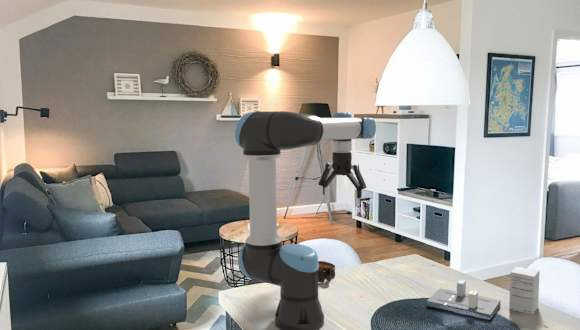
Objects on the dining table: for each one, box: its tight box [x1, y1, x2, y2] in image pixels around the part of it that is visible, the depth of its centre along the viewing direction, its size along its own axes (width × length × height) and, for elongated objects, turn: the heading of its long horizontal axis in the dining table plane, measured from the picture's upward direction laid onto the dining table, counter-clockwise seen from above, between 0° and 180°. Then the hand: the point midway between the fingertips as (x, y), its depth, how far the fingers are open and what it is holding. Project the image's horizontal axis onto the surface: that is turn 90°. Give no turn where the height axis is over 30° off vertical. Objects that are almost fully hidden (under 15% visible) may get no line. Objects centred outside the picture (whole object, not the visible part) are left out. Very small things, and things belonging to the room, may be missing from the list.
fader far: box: [456, 279, 467, 297], centre depth 164 cm, size 4×2×5 cm, turn 145°
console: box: [426, 287, 502, 318], centre depth 160 cm, size 15×20×2 cm
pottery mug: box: [318, 260, 336, 284], centre depth 186 cm, size 12×10×8 cm
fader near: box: [468, 290, 479, 309], centre depth 154 cm, size 4×2×5 cm, turn 145°
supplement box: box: [508, 266, 540, 315], centre depth 157 cm, size 7×7×13 cm
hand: (341, 204), depth 192 cm, fingers open, 13 cm apart
